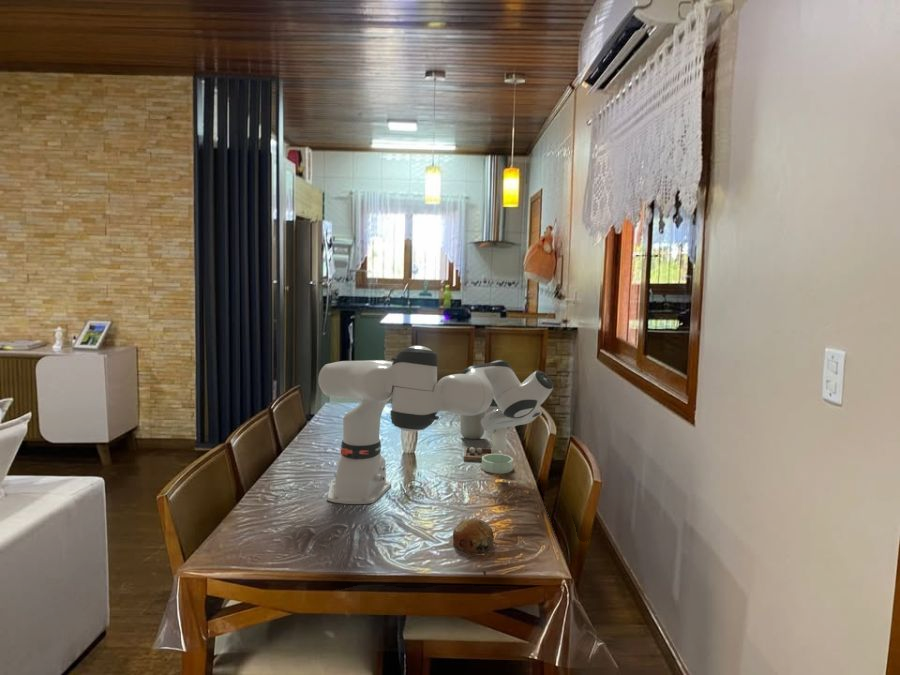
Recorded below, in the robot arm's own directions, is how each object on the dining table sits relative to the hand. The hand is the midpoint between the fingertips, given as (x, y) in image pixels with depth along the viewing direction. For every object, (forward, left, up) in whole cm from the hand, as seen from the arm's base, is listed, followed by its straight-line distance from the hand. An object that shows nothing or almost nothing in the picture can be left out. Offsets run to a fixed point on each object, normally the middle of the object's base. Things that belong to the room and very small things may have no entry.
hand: (498, 430), depth 204 cm
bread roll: (-56, +6, -14) cm, 58 cm away
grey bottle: (+37, +10, -14) cm, 40 cm away
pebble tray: (+11, +6, -14) cm, 19 cm away
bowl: (0, 0, -14) cm, 14 cm away
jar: (0, 0, -6) cm, 6 cm away
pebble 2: (+15, +6, -13) cm, 20 cm away
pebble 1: (+14, +9, -13) cm, 21 cm away
